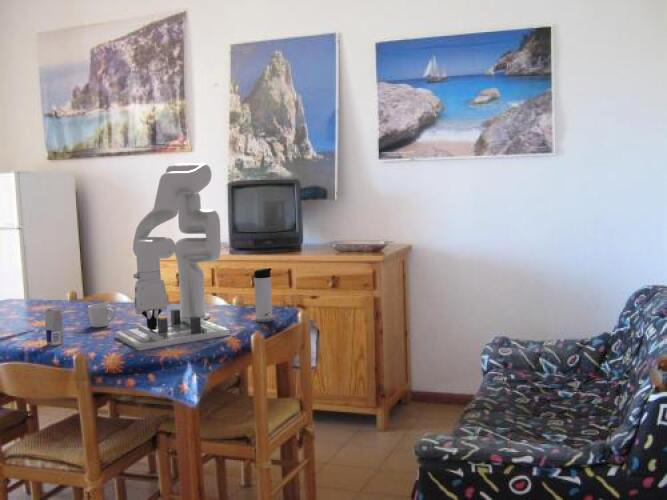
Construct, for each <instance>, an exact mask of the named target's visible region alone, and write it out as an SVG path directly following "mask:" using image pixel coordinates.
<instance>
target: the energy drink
mask: <svg viewBox="0 0 667 500" xmlns="http://www.w3.org/2000/svg"><path fill="white" fill-rule="evenodd" d="M44 321H45V323H44V325H45V337H46V345H47V346H48V347H57V346H62V345H63V344H65V339H64V338H65V337H64V325H63V311H62V308H61V307H51V308H46V309H44Z"/></svg>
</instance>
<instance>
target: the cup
mask: <svg viewBox="0 0 667 500" xmlns="http://www.w3.org/2000/svg"><path fill="white" fill-rule="evenodd" d="M87 312H88V313H87V314H88V318H89V323H90V327H92V328H104V327H108V325H110V322H113V321H114V320H115V318H116V313H115V312H116V311H115V310H114V309H113V308H111V305H110V304H109V303H96V304H89V305H88V306H87ZM110 313H111V314H110ZM110 315H111V317H110Z"/></svg>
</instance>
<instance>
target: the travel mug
mask: <svg viewBox="0 0 667 500" xmlns="http://www.w3.org/2000/svg"><path fill="white" fill-rule="evenodd" d="M271 271H272V267H269V268H262V269H256V270H254V272H253V276H254V277H253V279H254V280H253V281H254V303H255V304H254V305H255V321H256V323H269V322H272V321H273V300H272V299H273V298H272V297H273V296H272V277H271V276H272V275H271Z"/></svg>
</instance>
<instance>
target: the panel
mask: <svg viewBox="0 0 667 500" xmlns="http://www.w3.org/2000/svg"><path fill="white" fill-rule="evenodd" d="M180 315H181V309H178V308H174V309H170V323H168V331H167V332H159V331H158V324H157V327H156V330H149V328H148V327H147V326H144V325H138V327H137V328H132V329H124V330H119V331H118V330H117V331H114V332H115V333H114V334H115V339H117V340H119V341H121V342H123V343H124V344H126V345H128V346H130V347H132V348H134V349H135V350H136V351H144V350H151V349H155V348H156V349H157V348H163V347H168V346H173V345H180V344H185V343H191V342H196V341H197V340H198V341H203V340H209V339H215V338H221V337H226V336H230V329H229V328H227V327H224V326H222V325H219V324H215V323H213V322H211V321H209V320H208V321H207V320H206V319H204V320H203V319H200V317H197V316H196V317H190V321H185V320H183V319H180Z"/></svg>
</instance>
